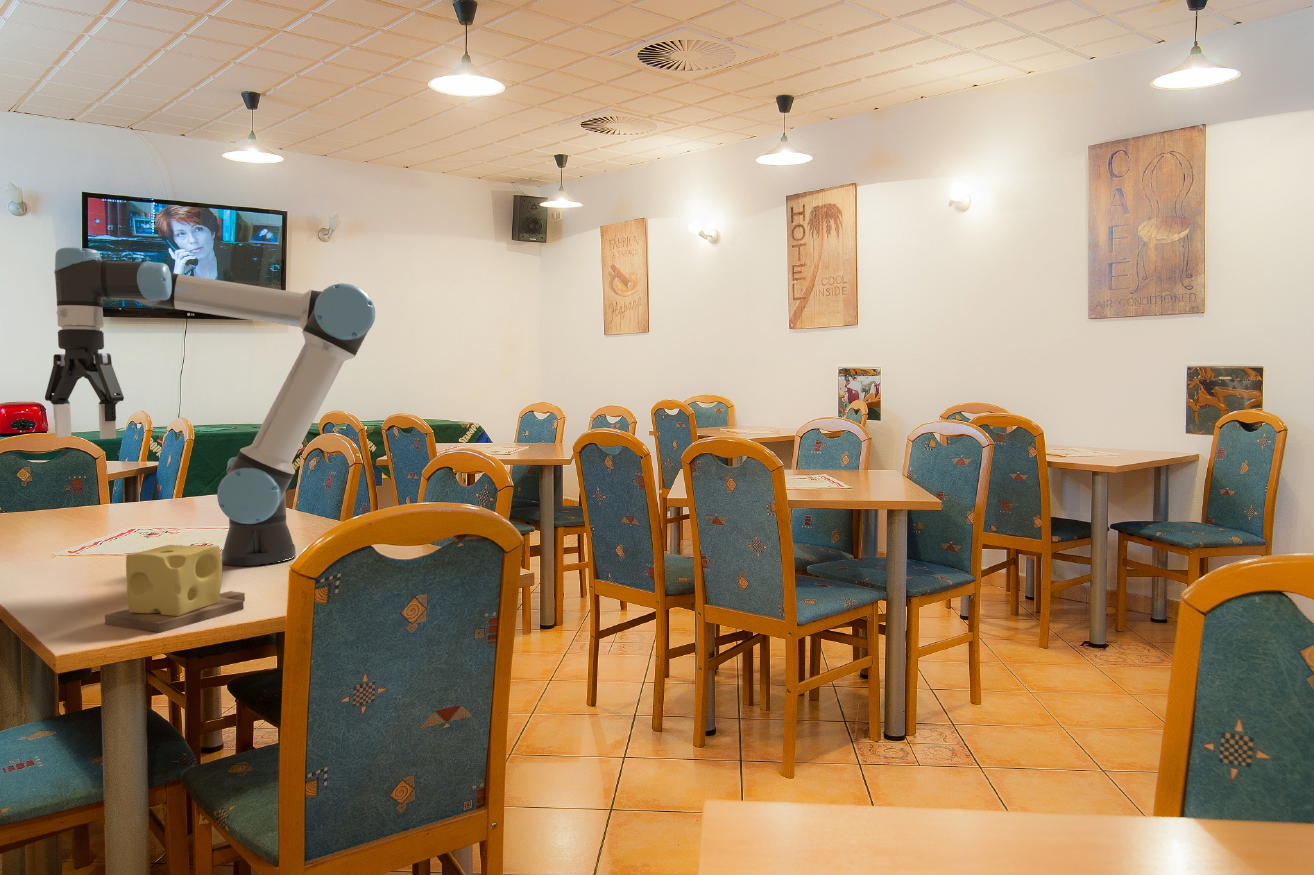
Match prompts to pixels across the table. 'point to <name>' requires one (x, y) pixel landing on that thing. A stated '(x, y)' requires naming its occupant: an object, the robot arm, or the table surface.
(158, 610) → the cheese
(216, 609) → the board
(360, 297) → the robot arm
